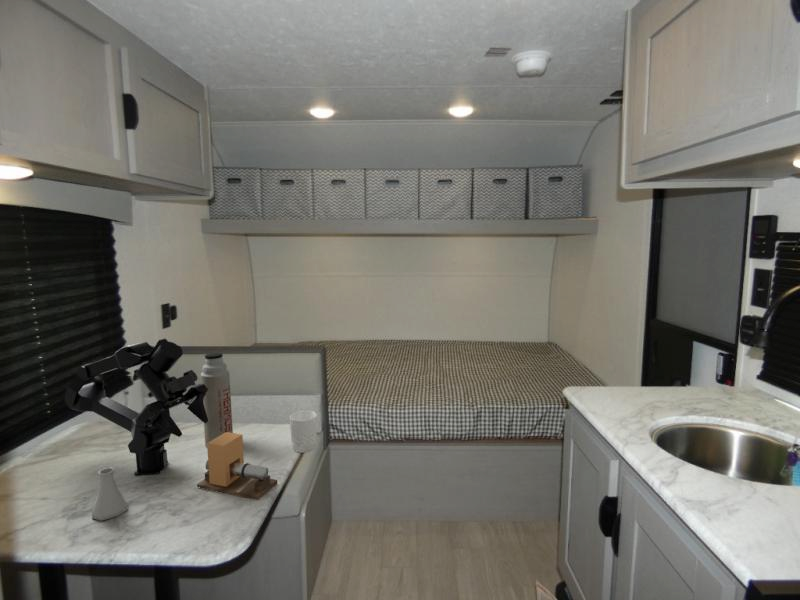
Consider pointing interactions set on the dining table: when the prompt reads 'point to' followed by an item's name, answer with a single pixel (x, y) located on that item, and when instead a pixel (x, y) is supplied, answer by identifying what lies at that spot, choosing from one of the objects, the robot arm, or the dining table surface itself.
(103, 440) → the dining table surface
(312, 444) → the white cup
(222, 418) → the thermos bottle
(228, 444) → the tan block
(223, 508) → the dining table surface
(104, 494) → the flask
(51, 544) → the dining table surface
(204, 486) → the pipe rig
